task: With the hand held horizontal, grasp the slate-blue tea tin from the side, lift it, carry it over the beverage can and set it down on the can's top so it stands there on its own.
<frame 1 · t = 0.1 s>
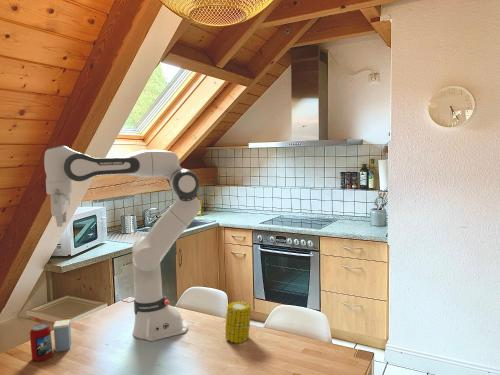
hand: (62, 224, 155), 48 cm above the table, tool pointing down, fingers open, 8 cm apart
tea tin: (63, 347, 156), on the table
food: (238, 339, 160), on the table
beverage can: (42, 358, 149), on the table
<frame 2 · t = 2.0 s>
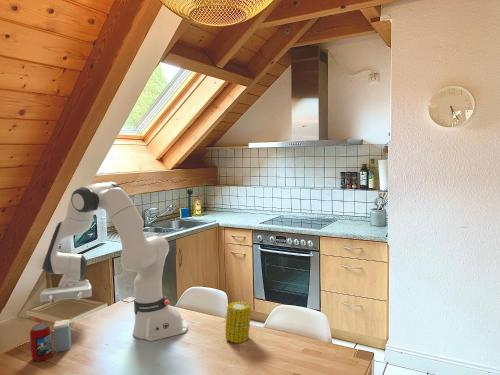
hand: (64, 299, 167), 15 cm above the table, tool horizontal, fingers open, 8 cm apart
nothing on the table moved.
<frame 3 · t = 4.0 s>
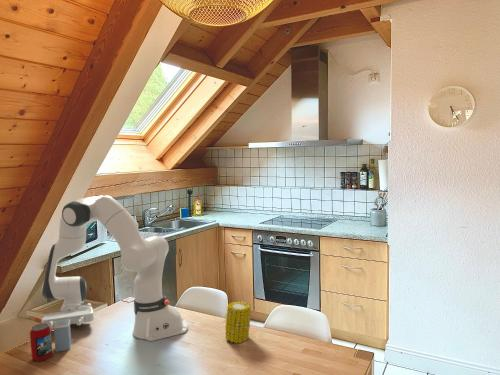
hand: (66, 325, 164), 5 cm above the table, tool horizontal, fingers open, 8 cm apart
nothing on the table moved.
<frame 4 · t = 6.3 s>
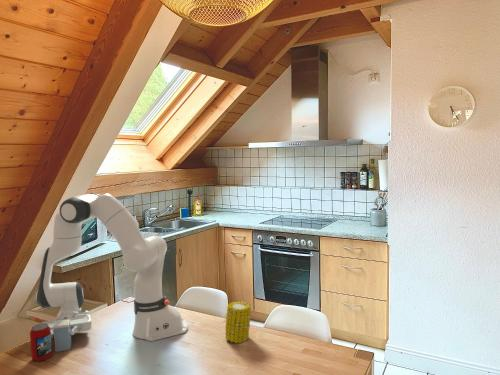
hand: (62, 334, 155), 6 cm above the table, tool horizontal, fingers closed on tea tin, 5 cm apart
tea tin: (63, 347, 156), on the table, touching gripper
everything else where it was.
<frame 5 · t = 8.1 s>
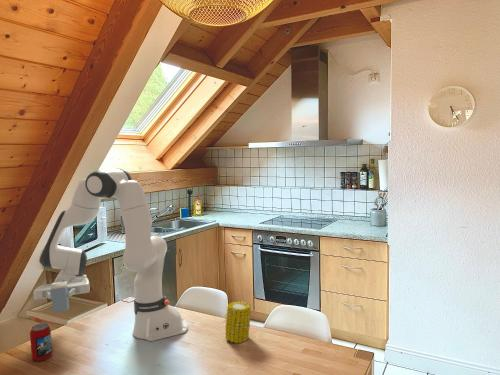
hand: (59, 296, 153), 21 cm above the table, tool horizontal, fingers closed on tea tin, 5 cm apart
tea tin: (61, 309, 155), point 15 cm above the table, touching gripper
everything else where it was.
when the fingers open (19 cm above the table, at t = 10.4 s): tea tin drops 2 cm, resting on beverage can.
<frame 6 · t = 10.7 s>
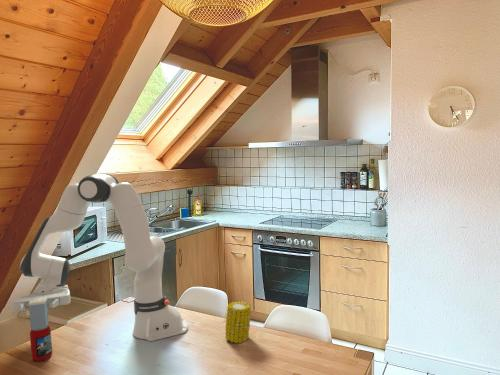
hand: (37, 308, 146), 19 cm above the table, tool horizontal, fingers open, 8 cm apart
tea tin: (40, 326, 148), point 12 cm above the table, touching beverage can
beverage can: (42, 358, 149), on the table, touching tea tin
everything else where it was.
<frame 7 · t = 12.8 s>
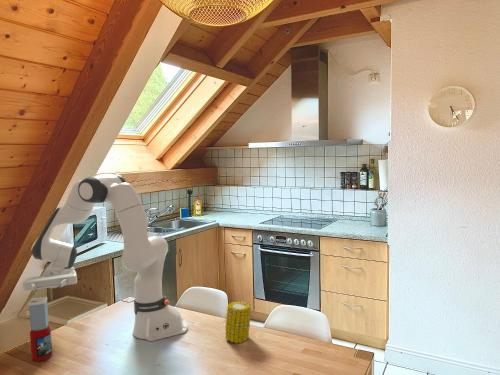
hand: (47, 286, 160), 23 cm above the table, tool horizontal, fingers open, 8 cm apart
nothing on the table moved.
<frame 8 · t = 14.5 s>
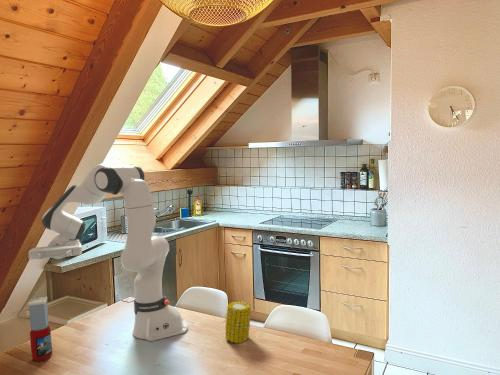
hand: (53, 256, 162), 34 cm above the table, tool horizontal, fingers open, 8 cm apart
nothing on the table moved.
at the end: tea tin 0.1 cm from the beverage can (horizontally); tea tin point 12.0 cm above the table; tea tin tilted 0° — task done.
